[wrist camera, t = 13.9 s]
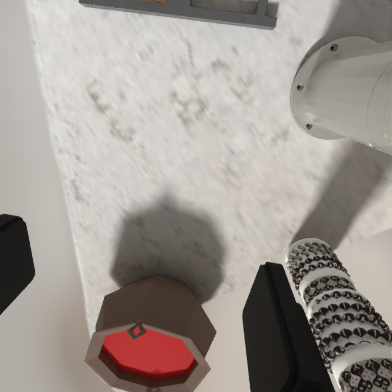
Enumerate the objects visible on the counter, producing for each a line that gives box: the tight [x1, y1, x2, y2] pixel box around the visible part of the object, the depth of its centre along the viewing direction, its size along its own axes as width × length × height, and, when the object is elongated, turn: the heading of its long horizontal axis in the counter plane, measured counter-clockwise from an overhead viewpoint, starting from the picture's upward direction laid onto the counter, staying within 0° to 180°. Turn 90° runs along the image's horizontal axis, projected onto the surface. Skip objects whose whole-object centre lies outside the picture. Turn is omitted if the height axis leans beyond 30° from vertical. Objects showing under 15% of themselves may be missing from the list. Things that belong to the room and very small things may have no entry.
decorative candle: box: [285, 238, 392, 392], centre depth 33 cm, size 9×9×25 cm
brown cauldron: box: [85, 275, 216, 392], centre depth 45 cm, size 24×24×16 cm
